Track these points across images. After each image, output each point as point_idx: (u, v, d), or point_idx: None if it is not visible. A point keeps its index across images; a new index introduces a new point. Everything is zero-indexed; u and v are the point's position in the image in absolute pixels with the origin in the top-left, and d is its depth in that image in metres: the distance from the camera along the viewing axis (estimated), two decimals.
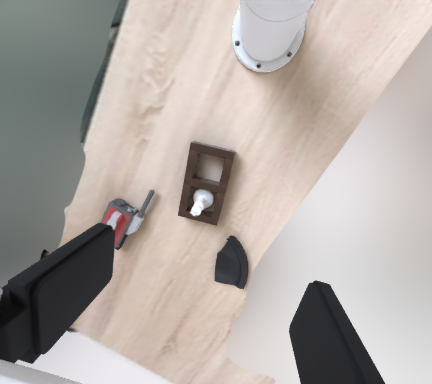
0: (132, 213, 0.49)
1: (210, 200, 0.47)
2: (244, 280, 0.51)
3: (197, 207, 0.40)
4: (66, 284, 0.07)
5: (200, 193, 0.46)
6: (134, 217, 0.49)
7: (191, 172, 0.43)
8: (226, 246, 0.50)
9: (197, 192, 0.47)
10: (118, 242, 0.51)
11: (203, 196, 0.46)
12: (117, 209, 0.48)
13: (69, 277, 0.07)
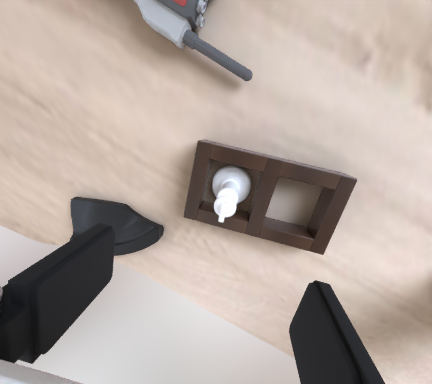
0: (193, 15, 0.19)
1: None
2: None
3: (233, 211, 0.18)
4: (66, 284, 0.07)
5: (243, 183, 0.24)
6: (182, 20, 0.19)
7: (292, 176, 0.21)
8: (143, 222, 0.28)
9: (244, 176, 0.24)
10: None
11: (238, 191, 0.24)
12: None
13: (69, 277, 0.07)
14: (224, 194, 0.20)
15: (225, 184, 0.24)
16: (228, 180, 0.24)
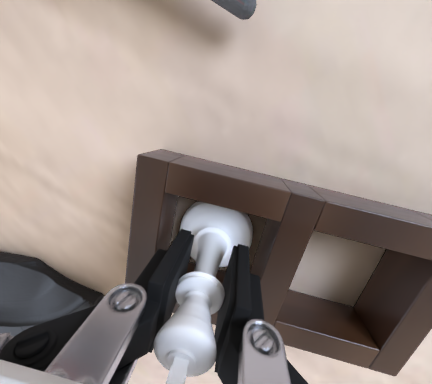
0: None
1: None
2: None
3: (207, 367, 0.06)
4: (175, 284, 0.08)
5: (238, 233, 0.13)
6: None
7: (345, 232, 0.10)
8: (64, 292, 0.16)
9: (239, 221, 0.12)
10: None
11: (227, 249, 0.12)
12: None
13: (177, 278, 0.08)
14: (191, 288, 0.08)
15: (201, 239, 0.12)
16: (208, 230, 0.12)
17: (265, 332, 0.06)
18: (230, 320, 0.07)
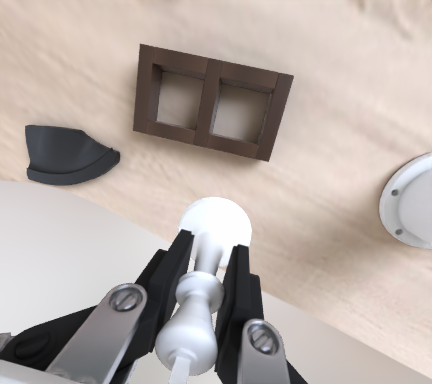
0: None
1: None
2: (44, 180, 0.30)
3: (208, 366, 0.06)
4: (175, 284, 0.08)
5: (236, 232, 0.13)
6: None
7: (233, 76, 0.22)
8: (98, 147, 0.28)
9: (237, 220, 0.13)
10: None
11: (226, 249, 0.12)
12: None
13: (177, 278, 0.08)
14: (191, 288, 0.08)
15: (200, 239, 0.12)
16: (207, 229, 0.12)
17: (264, 332, 0.06)
18: (230, 320, 0.07)
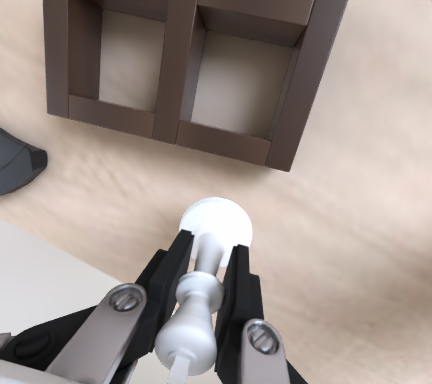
0: None
1: None
2: None
3: (207, 366, 0.06)
4: (175, 284, 0.08)
5: (237, 233, 0.13)
6: None
7: (223, 2, 0.11)
8: (7, 142, 0.17)
9: (238, 220, 0.13)
10: None
11: (227, 249, 0.12)
12: None
13: (177, 278, 0.08)
14: (191, 288, 0.08)
15: (201, 239, 0.12)
16: (208, 230, 0.12)
17: (264, 332, 0.06)
18: (230, 320, 0.07)
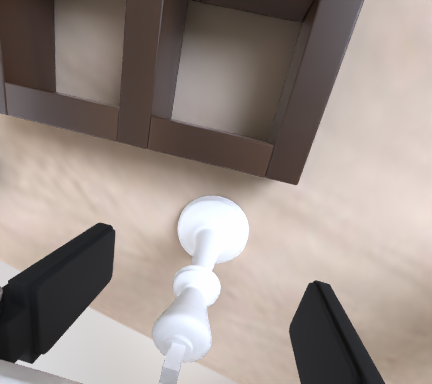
0: None
1: None
2: None
3: (202, 353, 0.07)
4: (66, 284, 0.07)
5: (234, 230, 0.13)
6: None
7: None
8: None
9: (235, 218, 0.13)
10: None
11: (224, 246, 0.13)
12: None
13: (69, 277, 0.07)
14: (188, 281, 0.09)
15: (198, 236, 0.12)
16: (205, 227, 0.12)
17: None
18: None
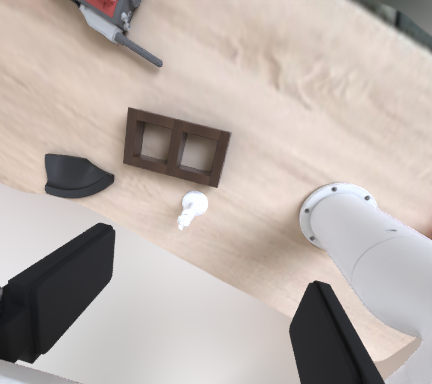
0: (119, 23, 0.30)
1: (193, 213, 0.39)
2: (57, 194, 0.40)
3: (188, 223, 0.31)
4: (66, 284, 0.07)
5: (201, 202, 0.38)
6: (113, 26, 0.30)
7: (191, 131, 0.32)
8: (98, 171, 0.38)
9: (202, 198, 0.38)
10: None
11: (198, 208, 0.37)
12: None
13: (69, 277, 0.07)
14: (185, 212, 0.33)
15: (189, 204, 0.37)
16: (191, 201, 0.37)
17: None
18: None
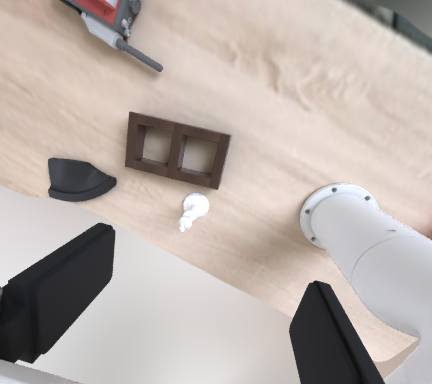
0: (120, 29, 0.30)
1: (195, 215, 0.39)
2: (61, 197, 0.41)
3: (189, 225, 0.32)
4: (66, 284, 0.07)
5: (202, 204, 0.38)
6: (113, 32, 0.30)
7: (191, 134, 0.33)
8: (100, 175, 0.39)
9: (203, 200, 0.38)
10: None
11: (199, 209, 0.38)
12: None
13: (69, 277, 0.07)
14: (186, 214, 0.34)
15: (190, 206, 0.37)
16: (192, 203, 0.38)
17: None
18: None
